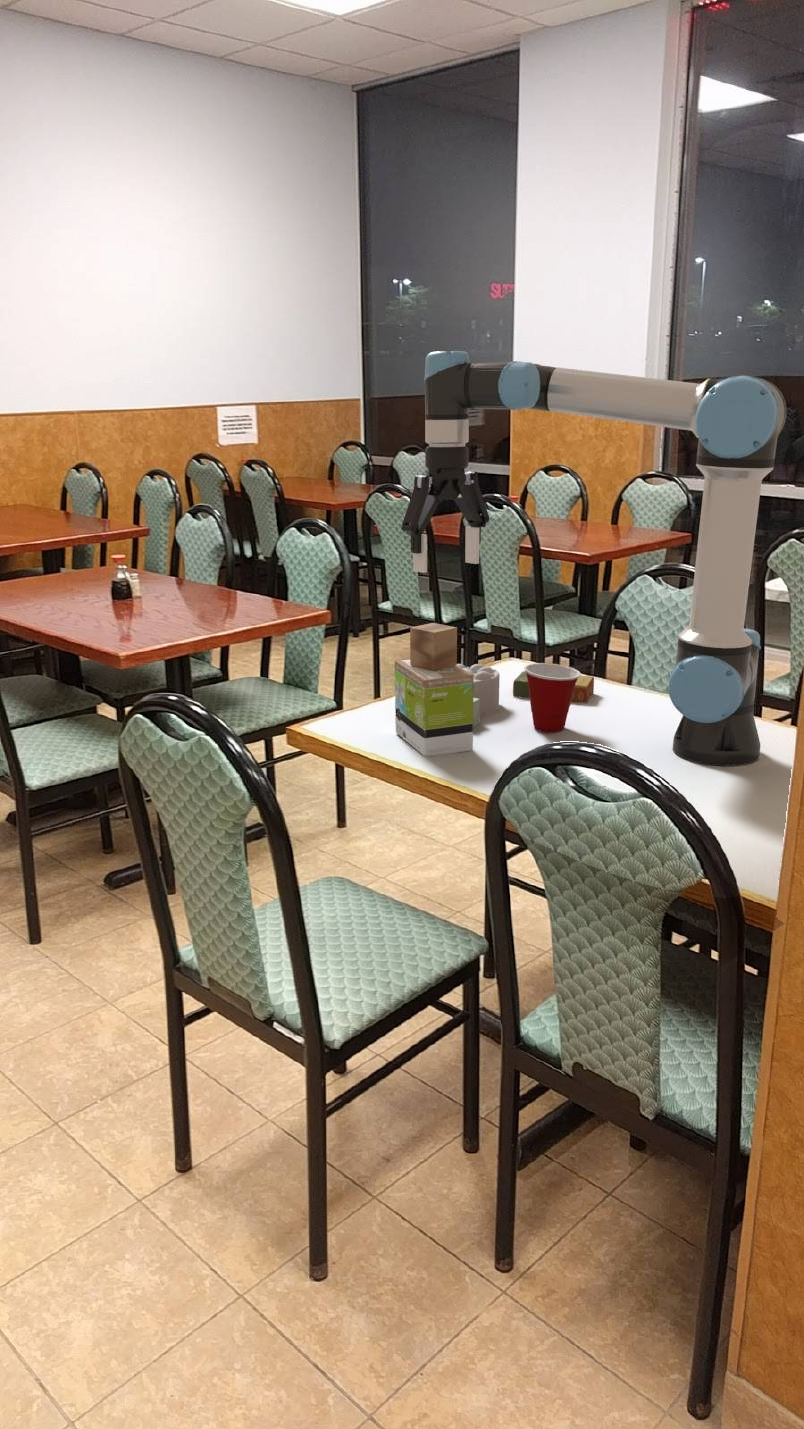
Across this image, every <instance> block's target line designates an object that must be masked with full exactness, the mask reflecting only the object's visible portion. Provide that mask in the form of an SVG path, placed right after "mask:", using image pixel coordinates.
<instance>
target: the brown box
mask: <svg viewBox="0 0 804 1429" xmlns="http://www.w3.org/2000/svg"><path fill="white" fill-rule="evenodd" d="M409 631H410V633H409V634H410V635H409V642H410V643H409V644H410V646H409V656H410V658H409V660H410V665H411V666H415V667H420V668H424V669H428V670H432V671H436V670H440V669H444V668H448V667H452V666H455V665H457V664H458V662H457V661H458V627H457V626H456V627H455V626H450V625H445V624H440V623H437V622H430V623H426V624H423V625H422V624H420V625H418V626H417V625H416V626H413V627H410V628H409Z"/></svg>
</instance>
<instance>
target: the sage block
mask: <svg viewBox="0 0 804 1429" xmlns="http://www.w3.org/2000/svg"><path fill="white" fill-rule="evenodd" d="M479 710H480V699H478V698H473V727H474V726H476V725H478V724H479V723H480V715H479Z"/></svg>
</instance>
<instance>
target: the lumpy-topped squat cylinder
mask: <svg viewBox="0 0 804 1429" xmlns="http://www.w3.org/2000/svg"><path fill="white" fill-rule="evenodd" d="M457 666H459V667H461V668H462V669H464V670H466V671H468V672H469V673H471V674H473V675H474V692H473V698H478V699H480V710H479V716H481V715H482V714H483V715H487V714H490V713H494V712H495V711H497V710H498V709H500V708H499V707H500V672H499V671H498V670H497V669H494V668H492V667H491V666H484V665H483V664H480V663H475V664H473V665H471V666H470V667H469V666H465V664H463V663H457ZM493 711H494V712H493ZM486 713H487V714H486Z"/></svg>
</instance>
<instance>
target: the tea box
mask: <svg viewBox="0 0 804 1429" xmlns="http://www.w3.org/2000/svg"><path fill="white" fill-rule="evenodd" d="M473 692H474V675H473V674H471V673H469V672H468V671H466V670H464V669H462V668H461V667H459V666H457V665H455V666H452V667H448V668H444V669H440V670H436V671H432V670H428V669H424V668H420V667H415V666H411V665H410V659H405V660H403V659H402V660H394V708H395V715H394V716H395V718H394V719H395V720H394V721H395V733H396V734H397V735H398V736H400V737H402V739H403V740H404V741H406V742H407V743H409V744H410V745H411V747H413V748H414V749H415V750H416V751H417V752H418V753H420V754H421V755H422V756H423V757H426V758H427V757H434V756H435V757H436V756H441V755H442V754H443V755H447V754H449V753H450V754H455V753H456V754H457V753H463V752H469V751H473V748H474V745H473V744H474V726H473ZM443 755H442V756H443Z"/></svg>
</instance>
